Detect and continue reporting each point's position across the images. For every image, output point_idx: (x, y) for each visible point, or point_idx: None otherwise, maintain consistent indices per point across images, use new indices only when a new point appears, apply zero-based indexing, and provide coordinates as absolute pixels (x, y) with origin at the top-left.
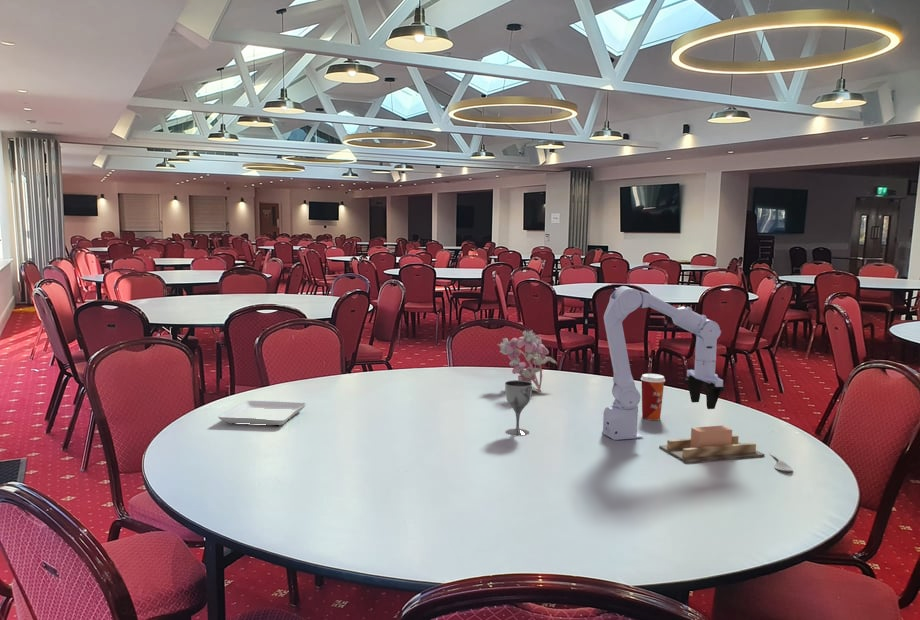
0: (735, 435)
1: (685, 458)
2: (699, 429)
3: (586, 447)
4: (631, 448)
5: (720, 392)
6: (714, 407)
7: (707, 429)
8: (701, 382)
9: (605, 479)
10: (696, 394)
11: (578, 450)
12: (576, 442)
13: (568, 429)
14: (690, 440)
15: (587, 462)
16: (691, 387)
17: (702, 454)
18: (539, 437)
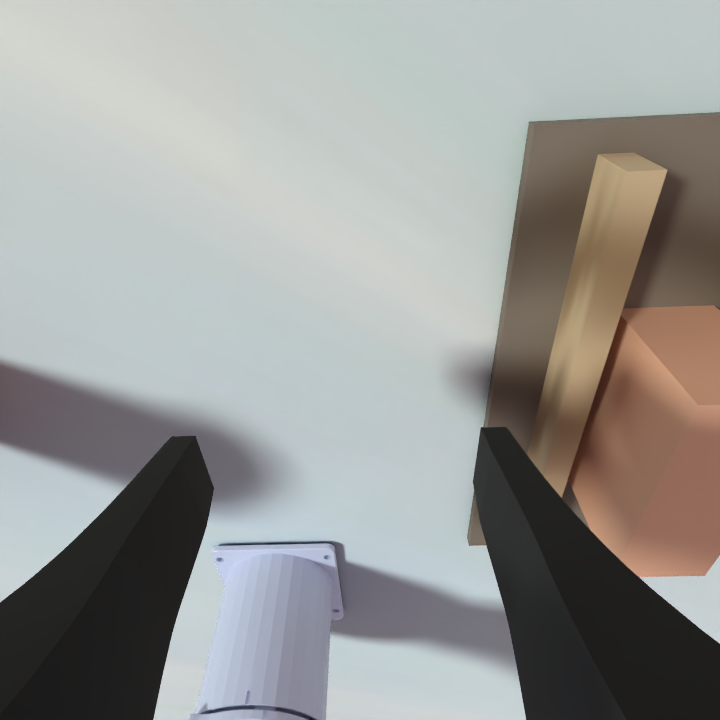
0: (640, 188)
1: None
2: (663, 560)
3: (392, 668)
4: (440, 599)
5: (690, 636)
6: (514, 442)
7: (696, 530)
8: (40, 711)
9: None
10: (169, 542)
11: (412, 683)
12: (340, 673)
13: (199, 661)
14: (560, 494)
15: (511, 689)
16: (152, 692)
17: None
18: None
